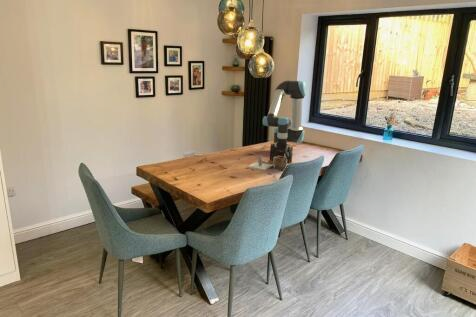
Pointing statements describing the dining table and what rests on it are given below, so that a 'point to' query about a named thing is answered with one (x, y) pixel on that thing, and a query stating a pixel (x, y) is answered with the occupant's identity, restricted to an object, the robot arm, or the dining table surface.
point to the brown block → (280, 161)
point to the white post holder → (260, 165)
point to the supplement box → (280, 152)
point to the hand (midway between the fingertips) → (280, 166)
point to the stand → (279, 168)
